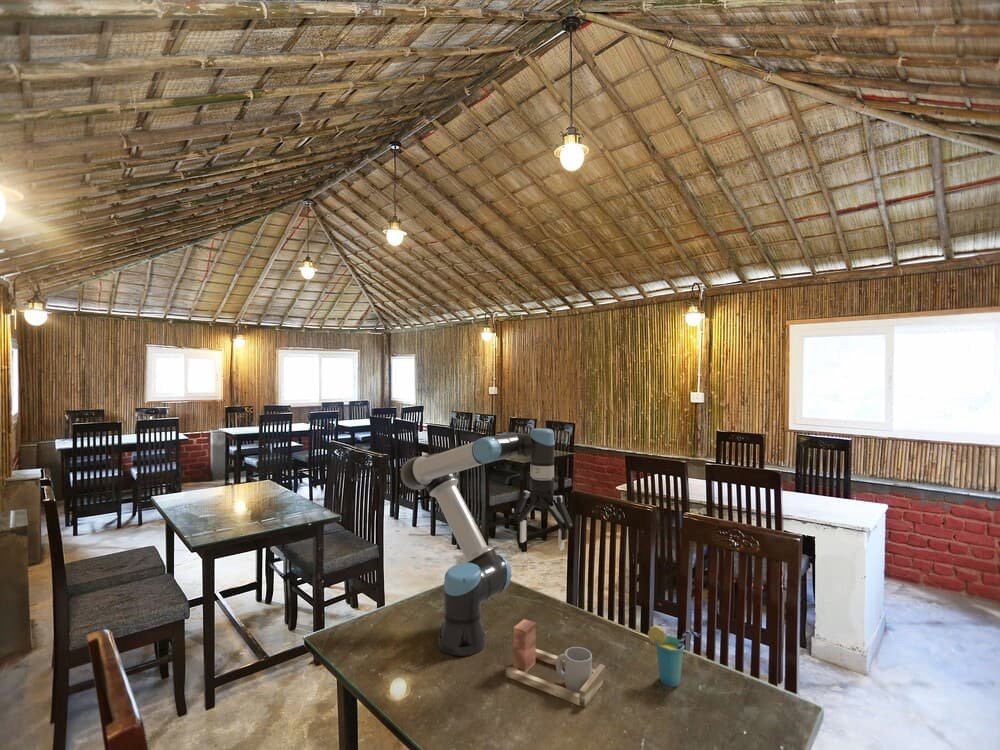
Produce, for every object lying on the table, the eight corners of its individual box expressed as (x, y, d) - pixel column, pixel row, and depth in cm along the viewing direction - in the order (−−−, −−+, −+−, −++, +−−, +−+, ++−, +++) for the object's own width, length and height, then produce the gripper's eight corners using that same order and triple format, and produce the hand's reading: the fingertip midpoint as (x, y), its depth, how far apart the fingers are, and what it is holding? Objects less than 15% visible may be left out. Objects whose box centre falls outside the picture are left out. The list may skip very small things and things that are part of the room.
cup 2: (699, 679, 137) (699, 625, 137) (701, 695, 130) (701, 639, 130) (647, 668, 142) (648, 617, 142) (646, 684, 135) (646, 629, 135)
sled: (505, 676, 138) (506, 633, 138) (530, 653, 149) (530, 613, 150) (585, 707, 125) (585, 660, 125) (605, 680, 136) (605, 636, 136)
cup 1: (587, 698, 129) (587, 664, 129) (551, 687, 133) (551, 654, 133) (594, 683, 135) (594, 650, 135) (560, 673, 139) (560, 642, 139)
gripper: (502, 475, 157) (502, 541, 157) (573, 484, 144) (573, 557, 144) (514, 471, 164) (514, 535, 163) (583, 480, 150) (583, 549, 150)
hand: (541, 545), depth 154 cm, fingers open, 13 cm apart
